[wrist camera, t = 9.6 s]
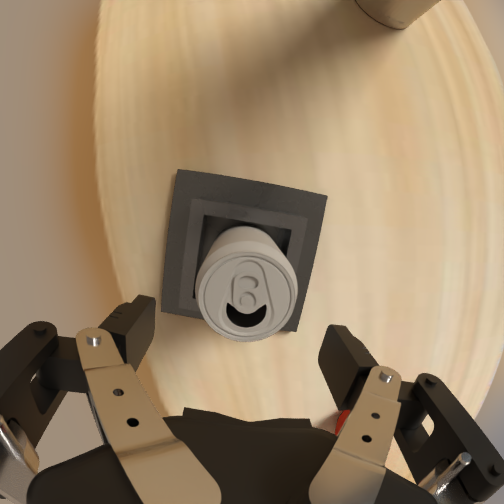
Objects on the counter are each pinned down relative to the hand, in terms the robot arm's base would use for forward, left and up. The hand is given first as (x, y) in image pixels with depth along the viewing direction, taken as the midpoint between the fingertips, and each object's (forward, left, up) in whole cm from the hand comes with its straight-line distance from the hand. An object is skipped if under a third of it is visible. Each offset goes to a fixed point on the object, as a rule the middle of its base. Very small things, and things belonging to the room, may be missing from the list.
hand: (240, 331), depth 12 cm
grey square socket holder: (0, 0, -17) cm, 17 cm away
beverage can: (0, 0, -16) cm, 16 cm away
